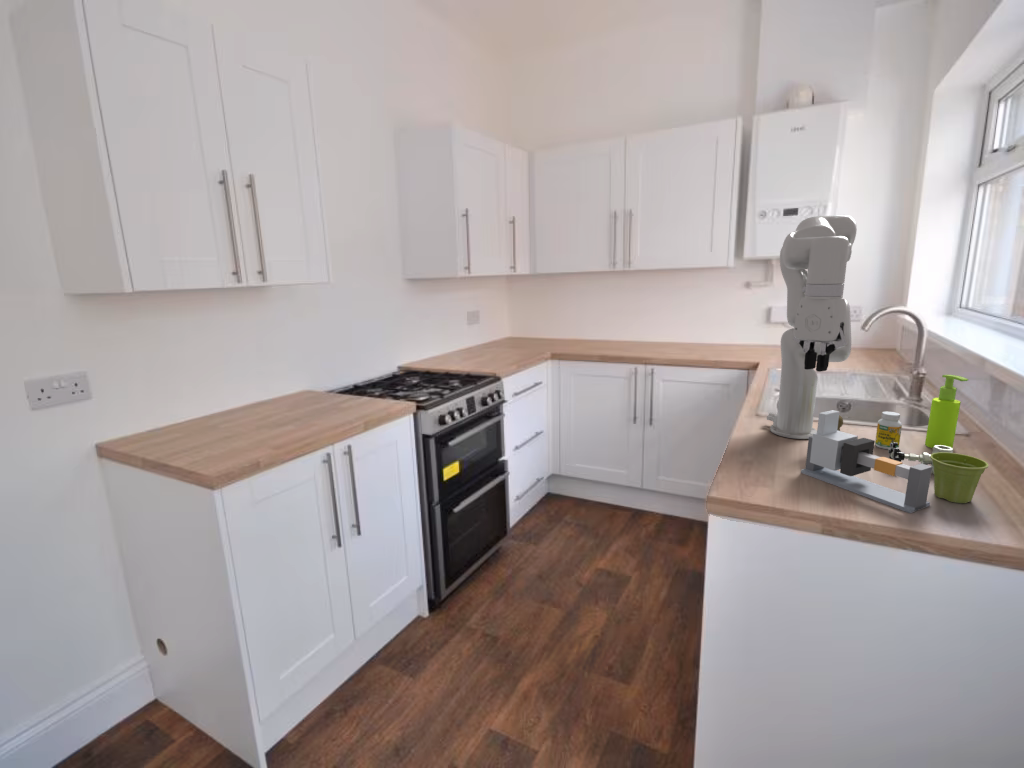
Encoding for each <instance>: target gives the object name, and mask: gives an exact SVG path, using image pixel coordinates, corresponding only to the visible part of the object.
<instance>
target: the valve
mask: <svg viewBox="0 0 1024 768" xmlns="http://www.w3.org/2000/svg"><path fill="white" fill-rule="evenodd" d="M895 446H898V443H895V442H893V443H890V449H889V450H888V449H887V450H888V451H887V454H888V458H889V459H892V460H896V461H899V462H902V461H904V460H905V459H907V460H908V461H909V462H916V461H918V463H920V464H925V465H928V466H929V465H930V466H932V472H931V474H933V475H934V465H933V463H932V459H931V458H930V455H931V454H933V453H938V452H947V453H954V448H953V449H952V448H951V447H948V446H943V445H935V446H934V447H933V448H932V453H931V454H929V453H928V452H921V454H918V455H917V453H911V452H910V453H908V454H905V451H904V452H903V451H901V449H900V447H899V448H896V447H895Z"/></svg>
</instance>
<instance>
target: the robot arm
mask: <svg viewBox="0 0 1024 768" xmlns="http://www.w3.org/2000/svg"><path fill="white" fill-rule="evenodd" d="M856 237H857V223H856V220H855V219H854V218H853V217H852V216H851V215H845V214H842V215H841V214H840V215H838V214H837V215H820V216H811V217H807V218H805V219H803V220H802V221H801V222H799V224H798V225H797V226H796V229H795V231H792V232H790V233H789V234H787V235H786V237H785V238H784V241H783V243H782V246H781V248H780V251H779V266H780V271H781V275H782V279H783V280H784V283H785V285H786V291H787V292H786V319H787V323H788V324H789V326H790V327H793V328H789V329H787V330H786V331H784V332H783V333H782V334H781V337H780V354H781V355H780V356H781V367H780V369H781V370H780V382H779V383H780V384H779V391H778V392H779V393H778V401H777V403H778V405H777V413H773V412H769V413H768V415H767V416H766V420H767V421H771V422H772V424H771V425H770V427H769V431H770V432H771V433H772V434H774V435H777V436H779V437H784V438H789V439H794V440H795V439H796V440H809V437H810V436H813V434H814V433H817V428H814V427H813V424H814V417H815V416H814V415H815V405H816V400H817V399H816V396H817V388H818V382H819V381H818V380H819V379H818V378H819V377H818V375H817V373H821V372H825V371H827V370H828V369H829V365H830V364H829V363H841V362H845V361H847V360H848V359H849V357H850V355H851V351H852V325H851V324H852V323H851V321H852V320H851V308H850V304H849V301H848V300H847V299H846V298H845V297H843V296H844V290H845V280H846V272H847V263H848V262H849V261H850V260H851V258H852V252H853V251H852V248H853V245H854V243H855V240H856ZM815 370H816V371H815Z"/></svg>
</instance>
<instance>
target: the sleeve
mask: <svg viewBox="0 0 1024 768" xmlns="http://www.w3.org/2000/svg"><path fill="white" fill-rule="evenodd" d="M839 415H840V411H839V410H835V409H832V410H828V411H827V410H826V411H822V412H819V413H818V420H817V428H816V430H817V433H814V434H813V438H812V447H811V456H810V463H813V464H816V465H819V466H822V467H825V468H828V469H830V470H833V471H836V470H838V471H840V469H841V461H842V458H840V457H841V449H842V446H843V445H844V443H845V442H849V441H853V440H856V439H859V436H858V435H855V434H851V433H848V432H844V431H841V430H840V431H838V430H837V429H838V420H839Z"/></svg>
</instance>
